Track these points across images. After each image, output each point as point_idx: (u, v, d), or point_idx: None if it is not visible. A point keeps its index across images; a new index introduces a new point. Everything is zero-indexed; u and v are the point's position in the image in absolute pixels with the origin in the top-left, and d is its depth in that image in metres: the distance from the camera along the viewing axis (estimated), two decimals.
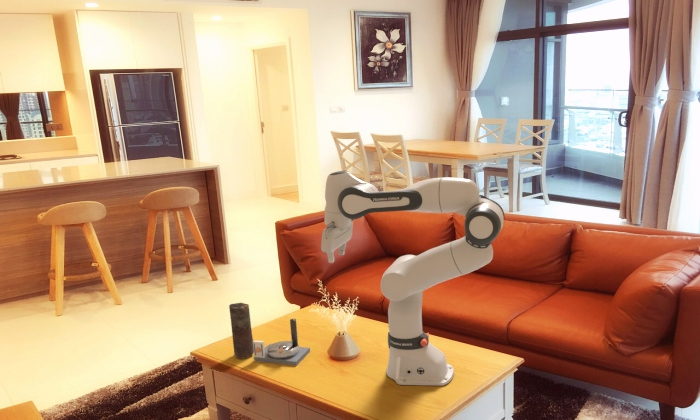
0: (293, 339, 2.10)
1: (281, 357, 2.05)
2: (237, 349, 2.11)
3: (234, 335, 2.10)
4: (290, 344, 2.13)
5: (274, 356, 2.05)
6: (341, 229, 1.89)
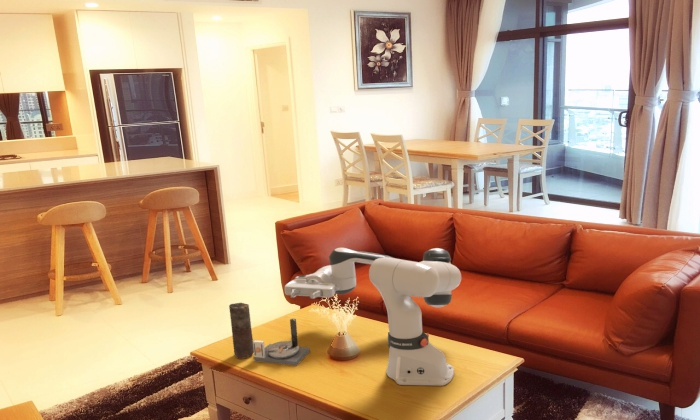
0: (293, 339, 2.10)
1: (281, 357, 2.05)
2: (237, 349, 2.11)
3: (234, 335, 2.10)
4: (290, 344, 2.13)
5: (274, 356, 2.05)
6: None
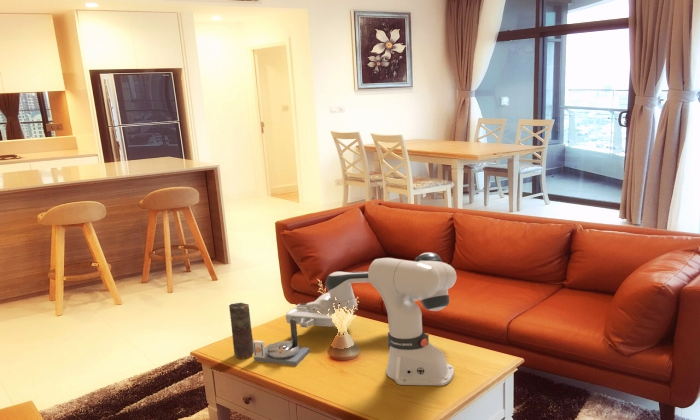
0: (293, 339, 2.10)
1: (281, 357, 2.05)
2: (237, 349, 2.11)
3: (234, 335, 2.10)
4: (290, 344, 2.13)
5: (274, 356, 2.05)
6: None
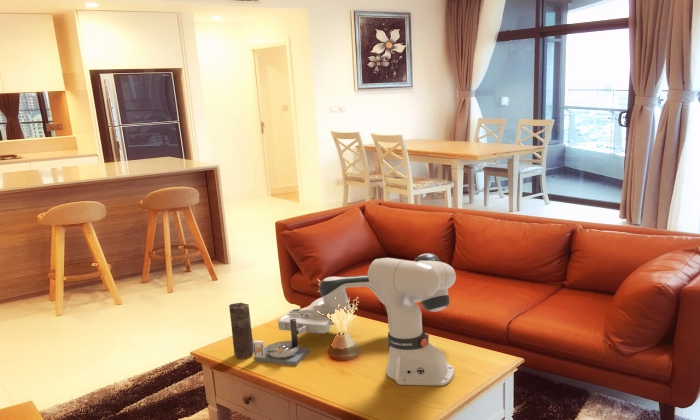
0: (293, 339, 2.10)
1: (281, 357, 2.05)
2: (237, 349, 2.11)
3: (234, 335, 2.10)
4: (290, 344, 2.12)
5: (274, 355, 2.05)
6: None
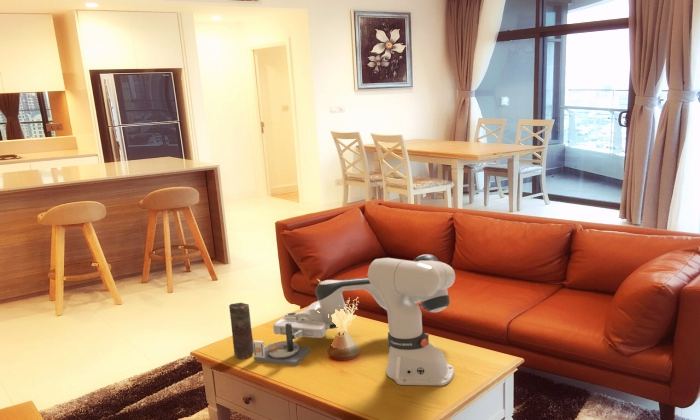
0: (287, 343, 2.06)
1: (268, 354, 2.08)
2: (237, 349, 2.11)
3: (234, 335, 2.10)
4: None
5: (267, 350, 2.10)
6: None
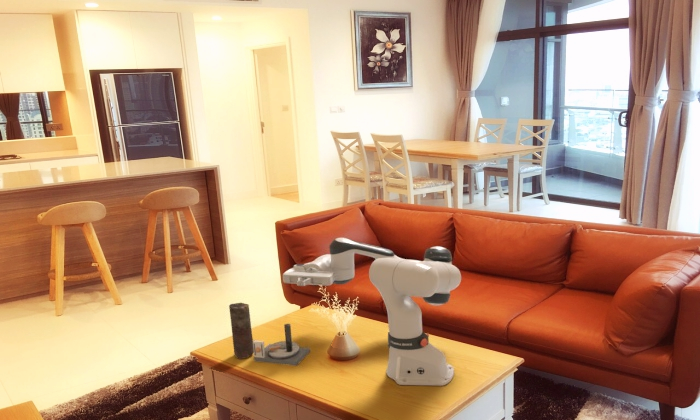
0: (286, 344, 2.06)
1: (268, 354, 2.08)
2: (237, 349, 2.11)
3: (234, 335, 2.10)
4: None
5: None
6: None
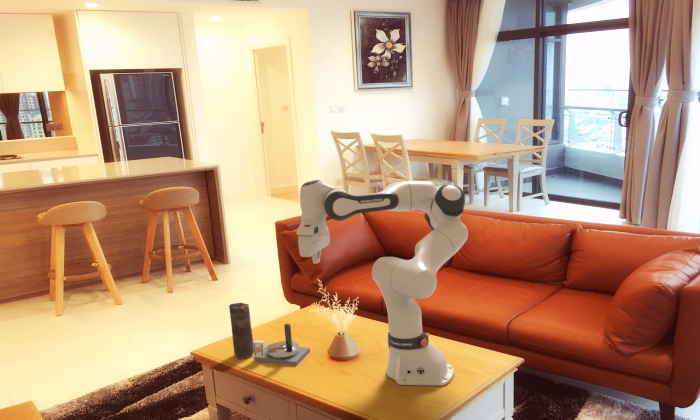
0: (286, 344, 2.06)
1: (268, 354, 2.08)
2: (237, 349, 2.11)
3: (234, 335, 2.10)
4: None
5: None
6: None
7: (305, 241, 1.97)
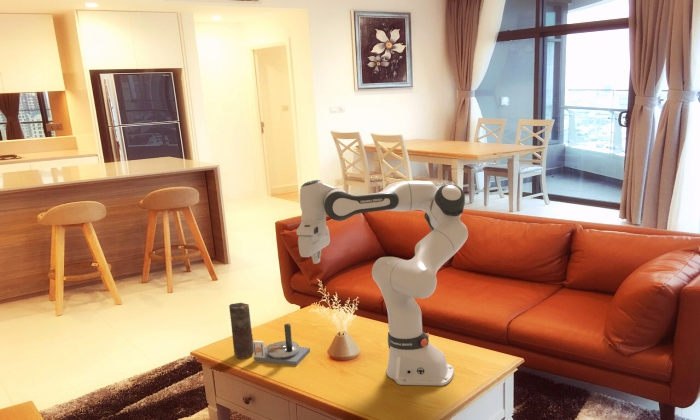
0: (286, 344, 2.06)
1: (268, 354, 2.08)
2: (237, 349, 2.11)
3: (234, 335, 2.10)
4: None
5: None
6: None
7: (305, 241, 1.97)
